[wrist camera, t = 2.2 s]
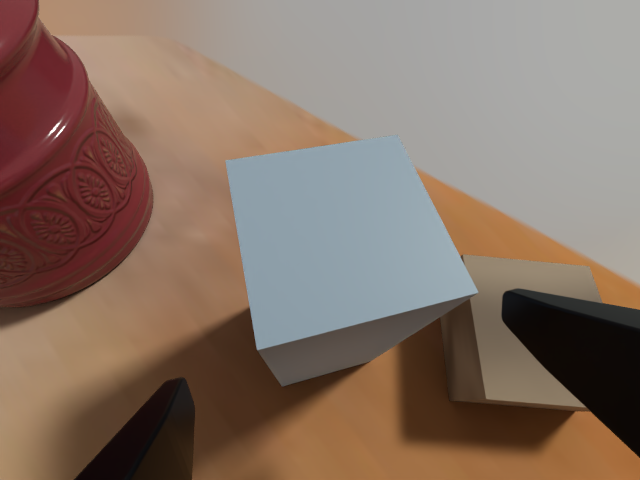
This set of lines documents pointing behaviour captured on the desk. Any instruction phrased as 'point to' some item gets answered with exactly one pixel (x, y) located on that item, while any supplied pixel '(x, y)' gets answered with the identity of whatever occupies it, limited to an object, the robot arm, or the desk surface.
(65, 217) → the canister
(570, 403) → the beige block
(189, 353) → the desk surface
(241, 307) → the desk surface
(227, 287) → the desk surface
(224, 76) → the desk surface
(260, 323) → the blue pillar
